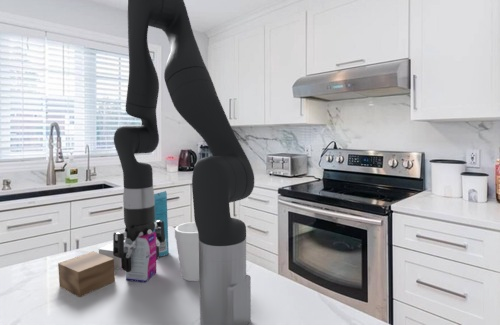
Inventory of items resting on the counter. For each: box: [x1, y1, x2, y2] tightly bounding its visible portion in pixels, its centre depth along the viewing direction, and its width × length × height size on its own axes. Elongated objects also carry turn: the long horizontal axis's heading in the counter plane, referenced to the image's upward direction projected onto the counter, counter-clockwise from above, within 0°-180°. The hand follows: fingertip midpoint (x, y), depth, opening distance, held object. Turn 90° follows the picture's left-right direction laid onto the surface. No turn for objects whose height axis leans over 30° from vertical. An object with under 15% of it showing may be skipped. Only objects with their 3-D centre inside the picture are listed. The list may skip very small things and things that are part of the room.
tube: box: [153, 190, 170, 258], centre depth 97 cm, size 7×5×19 cm, turn 160°
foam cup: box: [174, 221, 199, 282], centre depth 83 cm, size 10×9×13 cm
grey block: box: [98, 242, 123, 270], centre depth 91 cm, size 7×7×5 cm
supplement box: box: [124, 232, 157, 283], centre depth 82 cm, size 6×6×12 cm
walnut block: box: [57, 251, 116, 298], centre depth 79 cm, size 9×9×6 cm
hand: (141, 265), depth 83 cm, fingers open, 8 cm apart
